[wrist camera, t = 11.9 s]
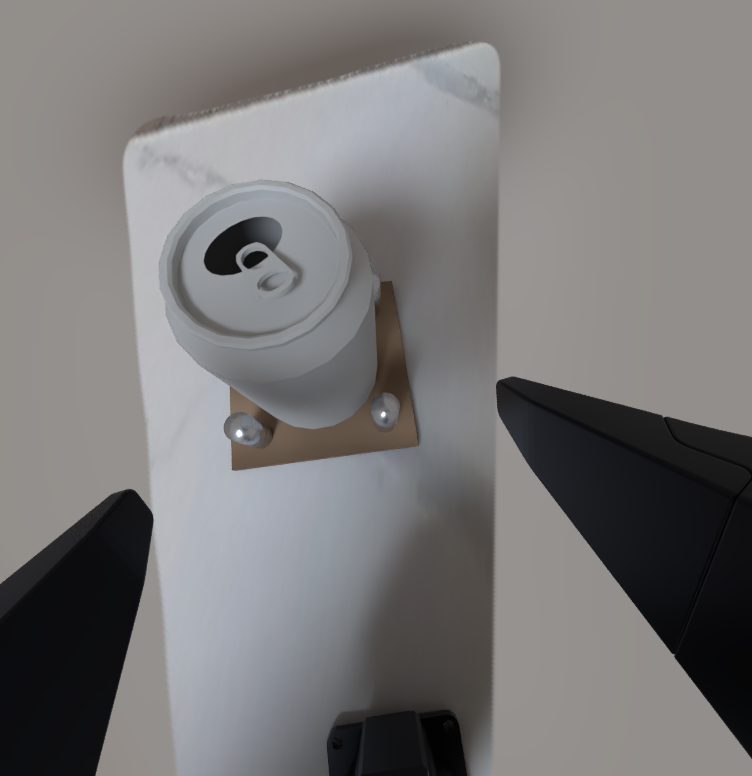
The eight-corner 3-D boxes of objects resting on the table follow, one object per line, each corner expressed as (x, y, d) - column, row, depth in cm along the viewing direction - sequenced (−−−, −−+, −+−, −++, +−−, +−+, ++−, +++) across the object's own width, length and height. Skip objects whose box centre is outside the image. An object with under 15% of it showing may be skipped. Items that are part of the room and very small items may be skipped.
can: (331, 296, 25) (285, 123, 13) (402, 382, 23) (421, 271, 11) (235, 362, 24) (91, 236, 12) (302, 457, 22) (210, 418, 10)
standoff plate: (417, 446, 22) (424, 436, 19) (236, 470, 22) (204, 466, 18) (391, 285, 25) (393, 247, 21) (231, 306, 25) (202, 271, 21)
